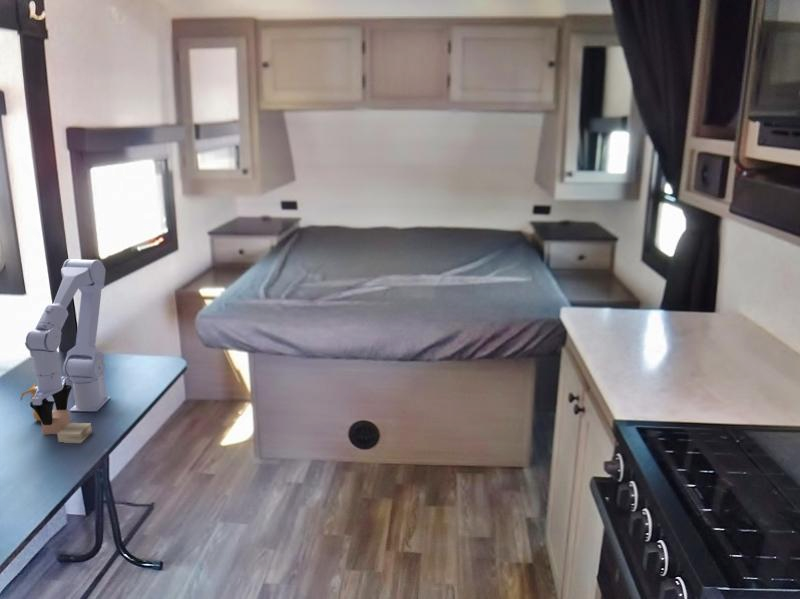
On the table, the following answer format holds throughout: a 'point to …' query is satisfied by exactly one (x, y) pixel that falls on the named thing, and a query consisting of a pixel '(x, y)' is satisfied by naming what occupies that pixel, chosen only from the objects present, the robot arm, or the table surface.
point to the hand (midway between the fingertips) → (55, 418)
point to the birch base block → (74, 432)
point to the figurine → (31, 398)
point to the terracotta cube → (57, 422)
